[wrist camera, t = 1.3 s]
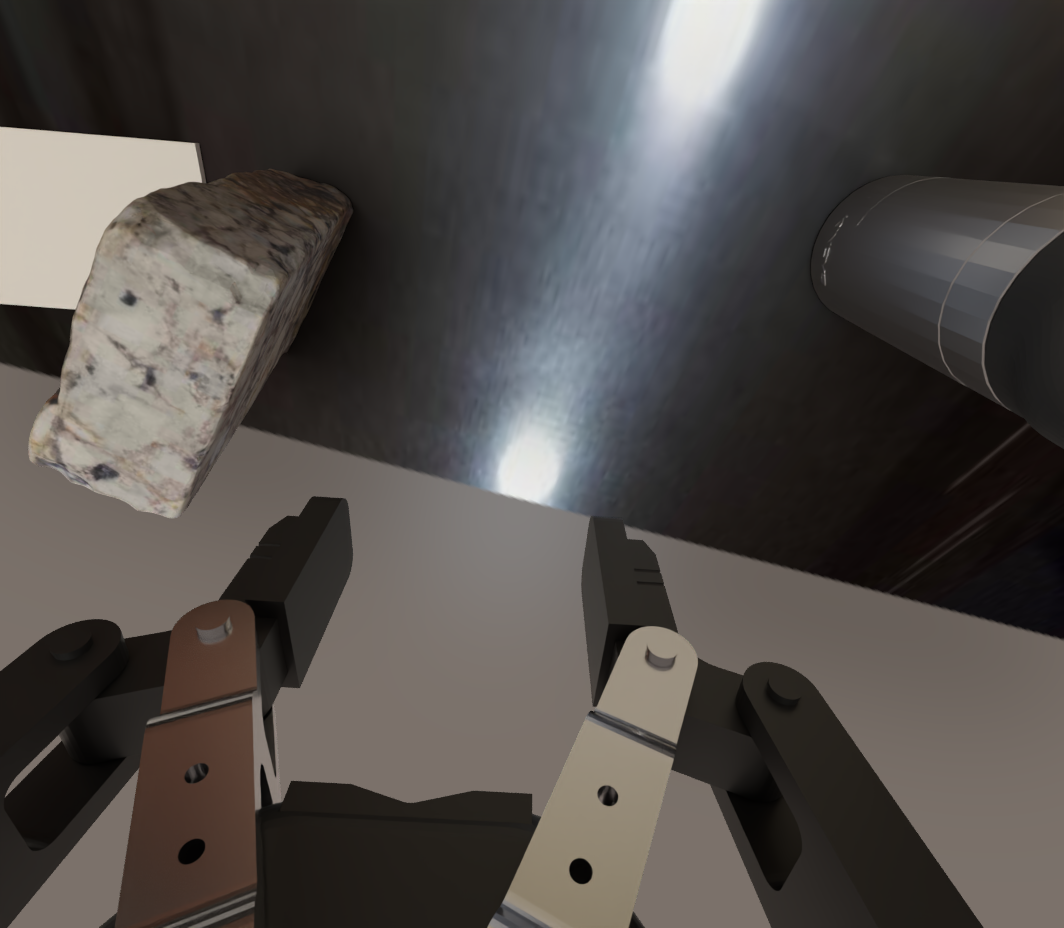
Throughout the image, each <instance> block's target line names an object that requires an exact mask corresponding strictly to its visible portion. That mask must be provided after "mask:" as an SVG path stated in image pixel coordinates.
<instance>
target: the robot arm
mask: <svg viewBox="0 0 1064 928" xmlns="http://www.w3.org/2000/svg"><path fill="white" fill-rule="evenodd" d="M811 278H812V282H813V286H814V289H815V291H816V293H817V295H818V297H819V299H820V300H821V301H822V303H823V304H824V305H825V306H826V307H827V308H828V309H829V310H831V311H833V312H834V313H836V314H838V315H839V316H841V317H843V318H844V319H846V320H848V321H850V322H852V323H853V324H855V325H857V326H859V327H860V328H862V329H864V330H865V331H867V332H869V333H871V334H873V335H874V336H876V337H878V338H880V339H882V340H883V341H885V342H887V343H889V344H891V345H892V346H894V347H896V348H898V349H900V350H901V351H903V352H905V353H907V354H909V355H910V356H912V357H914V358H916V359H918V360H919V361H921V362H923V363H925V364H927V365H928V366H930V367H932V368H934V369H936V370H937V371H939V372H941V373H943V374H945V375H946V376H948V377H950V378H952V379H954V380H955V381H957V382H959V383H961V384H963V385H965V386H967V387H969V388H971V389H972V390H974V391H976V392H978V393H980V394H981V395H983V396H985V397H987V398H989V399H990V400H992V401H994V402H996V403H998V404H999V405H1001V406H1003V407H1005V408H1007V409H1008V410H1011V411H1012V412H1014V413H1016V414H1017V415H1019V416H1021V417H1023V418H1024V419H1025V420H1026V421H1027V422H1028V423H1029V424H1030V425H1031V426H1032V427H1033V428H1034V429H1035V430H1036V431H1037V432H1039V433H1040V434H1041V435H1043V436H1044V437H1046V438H1047V439H1048V440H1050V441H1052V442H1053V443H1055V444H1057V445H1058V446H1060V447H1061V448H1063V449H1064V186H1051V185H1038V184H1024V183H1010V182H997V181H983V180H969V179H955V178H945V177H930V176H915V175H895V176H888V177H884V178H881V179H878V180H875V181H872V182H870V183H868V184H866V185H865V186H863V187H861V188H859V189H858V190H856V191H854V192H853V193H852V194H851V195H849V196H848V197H847V198H846V199H845V200H843V201H842V202H841V203H840V204H839V205H838V206H837V208H836V209H835V210H834V211H833V212H832V213H831V215H830V216H829V217H828V219H827V220H826V222H825V224H824V225H823V227H822V229H821V230H820V232H819V235H818V237H817V240H816V242H815V245H814V248H813V254H812V259H811ZM352 560H353V548H352V539H351V528H350V518H349V508H348V503H347V500H346V499H344V498H330V497H329V498H328V497H315V496H314V497H312V498H311V499H310V500H309V502H308V503H307V505H306V506H305V508H304V509H303V511H302V512H301V514H300V515H299V517H298V516H286V517H285V518H284V519H282V520H281V521H279V522H278V523H276V524H275V525H273V526H272V527H271V528H269V529H268V531H267V532H266V534H265V535H264V536H263V538H262V539H261V541H260V542H259V546H256V548H255V549H254V551H253V552H252V553H251V555H250V559H247V561H246V562H245V563H244V565H243V566H242V568H241V569H240V570H239V572H238V573H237V575H236V576H235V577H234V579H233V580H232V582H231V583H230V584H229V586H228V587H227V589H226V590H225V592H224V593H223V594H222V596H221V597H220V599H219V600H218V601H213V602H209V603H206V604H203V605H200V606H198V607H196V608H194V609H192V610H191V611H189V612H187V613H186V614H185V615H183V616H182V617H181V618H180V619H179V620H178V621H177V623H176V624H175V625H174V627H173V629H172V630H171V631H166V632H161V633H155V634H149V635H143V636H138V637H132V638H126V639H124V638H123V635H122V632H121V630H120V628H119V627H118V626H117V625H116V624H115V623H113V622H111V621H108V620H102V619H92V620H85V621H80V622H75V623H72V624H69V625H66V626H64V627H61V628H59V629H57V630H55V631H53V632H51V633H50V634H48V635H46V636H45V637H43V638H42V639H40V640H39V641H38V642H36V643H35V644H34V645H33V646H31V647H30V648H29V649H28V650H27V651H25V652H24V653H23V654H21V655H20V656H19V657H18V658H17V659H15V660H14V661H13V662H12V663H10V664H9V665H8V666H6V667H5V668H4V669H3V670H2V671H0V928H7V927H8V926H9V925H10V924H11V923H12V921H13V920H14V919H15V918H16V916H17V915H18V914H19V913H20V912H21V910H22V909H23V908H24V907H25V906H26V904H27V903H28V902H29V901H30V899H31V898H32V897H33V896H34V895H35V893H36V892H37V891H38V890H39V889H40V887H41V886H42V885H43V884H44V883H45V881H46V880H47V879H48V878H49V876H50V875H51V874H52V873H53V872H54V870H55V869H56V868H57V867H58V866H59V864H60V863H61V862H62V860H63V859H64V858H65V857H66V856H67V855H68V853H69V852H70V851H71V850H72V849H73V847H74V846H75V845H76V844H77V842H78V841H79V840H80V839H81V838H82V836H83V835H84V834H85V833H86V832H87V830H88V829H89V828H90V827H91V825H92V824H93V823H94V822H95V821H96V819H97V818H98V817H99V816H100V815H101V813H102V812H103V811H104V810H105V809H106V807H107V806H108V805H109V804H110V802H111V801H112V800H113V799H114V798H115V796H116V795H117V794H118V793H119V791H120V790H121V789H122V788H123V787H124V785H125V784H126V783H127V782H128V781H129V779H130V778H131V777H132V776H133V775H134V773H135V772H136V771H137V770H138V768H139V772H138V779H137V785H136V792H135V798H134V805H133V811H132V818H131V825H130V831H129V838H128V844H127V851H126V857H125V864H124V870H123V877H122V884H121V890H120V897H119V903H118V910H117V913H116V914H115V915H114V916H112V917H111V918H110V919H109V920H107V922H105V923H104V924H103V925H101V926H100V927H99V928H645V927H644V926H643V924H642V923H641V921H640V920H639V919H638V917H637V916H636V915H635V913H634V912H633V909H634V906H635V902H636V898H637V894H638V891H639V887H640V883H641V879H642V876H643V872H644V868H645V864H646V861H647V857H648V853H649V849H650V845H651V841H652V838H653V834H654V831H655V827H656V823H657V819H658V816H659V812H660V808H661V805H662V801H663V797H664V793H665V790H666V786H667V782H668V779H669V775H670V771H671V770H674V771H676V772H679V773H682V774H684V775H687V776H690V777H692V778H695V779H698V780H700V781H703V782H705V783H708V784H710V785H711V788H712V790H713V792H714V795H715V797H716V799H717V802H718V804H719V806H720V809H721V811H722V813H723V816H724V818H725V820H726V823H727V825H728V827H729V830H730V832H731V834H732V837H733V839H734V841H735V844H736V846H737V848H738V851H739V853H740V855H741V858H742V860H743V862H744V865H745V867H746V869H747V871H748V874H749V876H750V879H751V881H752V883H753V885H754V888H755V890H756V893H757V895H758V897H759V900H760V902H761V904H762V906H763V909H764V911H765V914H766V916H767V918H768V921H769V923H770V925H771V928H983V926H982V925H981V923H980V922H979V921H978V919H977V918H976V916H975V915H974V913H973V912H972V911H971V909H970V908H969V906H968V905H967V903H966V902H965V901H964V899H963V898H962V896H961V895H960V893H959V892H958V891H957V889H956V888H955V886H954V885H953V883H952V882H951V881H950V879H949V878H948V876H947V875H946V873H945V872H944V870H943V869H942V868H941V866H940V865H939V863H938V862H937V861H936V859H935V858H934V856H933V855H932V853H931V852H930V850H929V849H928V848H927V846H926V845H925V843H924V842H923V840H922V839H921V837H920V836H919V835H918V833H917V832H916V830H915V829H914V827H913V826H912V825H911V823H910V822H909V820H908V819H907V817H906V816H905V815H904V813H903V812H902V811H901V809H900V808H899V806H898V805H897V803H896V802H895V800H894V799H893V797H892V796H891V794H890V793H889V792H888V790H887V789H886V787H885V786H884V784H883V783H882V782H881V781H880V779H879V777H878V776H877V774H876V773H875V772H874V770H873V769H872V767H871V766H870V764H869V763H868V762H867V760H866V759H865V757H864V756H863V754H862V753H861V752H860V750H859V749H858V747H857V746H856V744H855V743H854V741H853V740H852V739H851V737H850V736H849V735H848V733H847V731H846V730H845V729H844V727H843V726H842V724H841V723H840V721H839V720H838V719H837V717H836V716H835V714H834V713H833V711H832V710H831V709H830V707H829V706H828V704H827V703H826V701H825V700H824V699H823V697H822V696H821V694H820V693H819V691H818V690H817V689H816V687H815V686H814V685H813V684H812V683H811V682H810V681H809V680H808V679H807V678H806V677H804V676H803V675H802V674H800V673H799V672H797V671H796V670H794V669H792V668H790V667H787V666H784V665H782V664H778V663H772V662H761V663H757V664H753V665H752V666H750V667H749V668H748V669H747V670H746V671H745V673H744V675H740V674H737V673H734V672H731V671H727V670H725V669H721V668H718V667H716V666H713V665H710V664H708V663H706V662H704V661H703V660H701V659H699V658H698V657H697V654H696V652H695V650H694V648H693V647H692V645H691V644H690V643H689V642H688V641H687V640H686V639H685V638H684V637H682V636H681V635H679V634H678V631H677V627H676V624H675V620H674V617H673V613H672V610H671V607H670V604H669V600H668V596H667V593H666V589H665V586H664V582H663V579H662V575H661V573H660V568H659V565H658V561H657V558H656V555H655V553H654V552H653V551H652V550H651V549H650V548H649V547H648V546H647V544H646V543H645V542H644V541H643V540H630V539H627V537H626V532H625V527H624V523H623V520H622V518H614V517H599V516H591V518H590V521H589V528H588V534H587V542H586V548H585V555H584V561H583V567H582V583H581V586H582V601H583V611H584V621H585V631H586V641H587V652H588V662H589V673H590V683H591V692H592V703H593V706H594V707H596V709H595V711H594V712H593V711H590V712H589V714H588V715H587V717H586V719H585V721H584V723H583V725H582V728H581V730H580V732H579V734H578V737H577V739H576V741H575V743H574V745H573V748H572V750H571V752H570V754H569V757H568V759H567V761H566V763H565V765H564V768H563V770H562V772H561V775H560V777H559V779H558V781H557V783H556V785H555V788H554V790H553V792H552V795H551V797H550V799H549V801H548V803H547V806H546V808H545V810H544V812H543V815H542V817H540V816H537V815H534V814H532V794H523V793H505V792H486V791H471V792H466V793H460V794H455V795H451V796H446V797H441V798H436V799H431V800H426V801H421V802H417V803H406V802H402V801H399V800H396V799H393V798H390V797H387V796H384V795H381V794H378V793H375V792H372V791H370V790H367V789H363V788H361V787H358V786H355V785H352V784H337V783H321V782H302V781H291V783H290V785H289V788H288V791H287V793H286V795H285V798H284V801H283V802H282V800H281V790H280V778H279V761H278V746H277V730H276V714H275V708H274V700H275V698H276V696H277V694H278V692H279V690H280V688H281V687H291V688H300V686H301V684H302V682H303V680H304V677H305V675H306V673H307V671H308V668H309V666H310V664H311V661H312V659H313V657H314V655H315V652H316V650H317V648H318V646H319V643H320V641H321V639H322V637H323V634H324V632H325V630H326V628H327V625H328V623H329V621H330V619H331V616H332V614H333V612H334V609H335V607H336V605H337V603H338V600H339V598H340V596H341V594H342V591H343V589H344V587H345V585H346V582H347V580H348V578H349V575H350V572H351V567H352ZM58 735H59V736H60V738H61V740H62V741H61V742H60V743H59V744H58V745H57V746H56V747H55V748H54V749H53V750H52V751H51V752H50V753H49V754H48V755H47V756H46V757H45V758H44V759H43V760H42V761H41V762H40V763H39V764H38V765H37V766H36V767H35V768H34V769H33V770H32V771H31V772H30V773H29V774H28V775H27V776H26V777H25V778H24V779H23V780H22V781H21V782H20V783H19V784H18V785H17V786H16V787H15V788H14V789H13V790H12V791H11V792H10V793H9V794H8V795H7V796H6V797H5V795H6V792H7V790H8V788H9V786H10V785H11V783H12V781H13V780H14V779H15V778H16V776H17V775H18V774H19V773H20V772H21V771H22V770H23V769H24V768H25V767H26V766H27V765H28V764H29V763H30V762H31V761H32V760H33V759H34V758H35V757H36V756H37V755H38V754H39V753H40V752H41V751H42V750H43V749H44V748H45V747H47V746H48V745H49V744H50V742H52V741H53V740H54V739H55V738H56V737H57V736H58Z"/></svg>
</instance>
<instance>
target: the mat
mask: <svg viewBox="0 0 1064 928" xmlns="http://www.w3.org/2000/svg"><path fill="white" fill-rule="evenodd" d="M187 182H200V183H206V179H205V173H204V168H203V162H202V157H201V151H200V146H199V143H188V142H176V141H164V140H152V139H140V138H129V137H117V136H105V135H93V134H81V133H69V132H57V131H46V130H34V129H22V128H10V127H0V304H11V305H24V306H37V307H50V308H64V309H76V307H77V304H78V301H79V299H80V296H81V293H82V289H83V286H84V284H85V282H86V280H87V278H88V276H89V275H90V271H91V268H92V264H93V260H94V257H95V252H96V248H97V246H98V244H99V242H100V240H101V237H102V235H103V233H104V230H105V229H106V228H107V227H108V225H109V224H110V223H111V222H112V220H113V219H114V218H116V217H117V216H118V215H119V214H120V213H121V212H122V210H123V209H124V208H125V207H126V206H127V205H129V204H130V203H131V202H132V201H133V200H135V199H137V198H140V197H144V196H146V195H147V194H149V193H151V192H154V191H156V190H158V189H160V188H170V187H174V186H177V185H180V184H184V183H187Z"/></svg>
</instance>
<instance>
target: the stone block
mask: <svg viewBox="0 0 1064 928" xmlns="http://www.w3.org/2000/svg"><path fill="white" fill-rule="evenodd" d="M352 213H353V208H352V205H351V201H350V200H349V198H348V197H347V196H346V195H345V194H343V193H342V192H340V191H339V190H338V189H336V188H335V187H333V186H331V185H328V184H326V183H324V184H321V183H318V182H315V181H312V180H308V179H304V178H300V177H297V176H295V175H292V174H290V173H288V172H283V171H276V170H273V169H268V170H264V171H261V170H257V171H254V172H253V173H248V172H244V173H241V172H239V173H232V174H230V175H228V176H227V177H226V178H223V179H218V180H215V181H212V182H210V183H200V182H187V183H184V184H180V185H177V186H174V187H170V188H160V189H158V190H156V191H154V192H151V193H149V194H147V195H146V196H144V197H140V198H137V199H135V200H133V201H132V202H131V203H130V204H129V205H127V206H126V207H125V208H124V209H123V210H122V212H121V213H120V214H119V215H118V216H117V217H116V218H114V219H113V220H112V222H111V223H110V224H109V225H108V227H107V228H106V229H105V230H104V233H103V235H102V237H101V240H100V242H99V244H98V246H97V248H96V252H95V257H94V260H93V264H92V268H91V271H90V275H89V276H88V278H87V280H86V282H85V284H84V286H83V289H82V293H81V296H80V299H79V301H78V304H77V307H76V310H75V313H74V316H73V319H72V325H71V332H70V345H69V348H68V351H67V353H66V356H65V360H64V363H63V367H62V373H61V379H60V388H59V389H58V390H57V392H56V393H55V394H54V395H53V396H52V397H51V398H50V399H48V400H47V401H46V403H45V404H44V406H43V407H42V409H41V410H40V412H39V413H38V415H37V417H36V419H35V422H34V425H33V427H32V430H31V434H30V438H29V451H28V453H29V457H30V461H31V462H33V463H34V464H35V465H37V466H44V467H50V468H53V469H56V470H58V471H59V472H61V473H62V474H63V475H64V476H65V477H66V478H67V479H68V480H69V481H70V482H71V483H75V484H79V485H83V486H85V487H87V488H89V489H91V490H92V491H94V492H96V493H99V494H103V495H107V496H110V497H115V498H118V499H120V500H122V501H124V502H126V503H128V504H130V505H131V506H132V507H133V508H134V509H136V510H138V511H144V512H151V513H156V514H159V515H162V516H165V517H168V518H176V517H179V516H180V515H181V514H182V513H183V512H184V511H185V510H186V508H187V507H188V506H189V504H190V503H191V501H192V499H193V498H194V496H195V495H196V493H197V492H198V490H199V489H200V487H201V485H202V484H203V482H204V481H205V479H206V477H207V476H208V474H209V472H210V471H211V469H212V467H213V465H214V464H215V463H216V461H217V460H218V458H219V457H220V455H221V454H222V452H223V451H224V449H225V448H226V446H227V444H228V443H229V441H230V439H231V438H232V436H233V434H234V433H235V431H236V429H237V428H238V426H239V425H240V423H241V422H242V420H243V419H244V417H245V415H246V414H247V412H248V410H249V409H250V407H251V406H252V404H253V402H254V401H255V399H256V398H257V396H258V394H259V392H260V391H261V389H262V388H263V386H264V384H265V382H266V380H267V379H268V377H269V375H270V374H271V372H272V370H273V369H274V367H275V366H276V364H277V362H278V360H279V358H280V357H281V355H282V354H283V353H286V352H287V351H288V350H289V348H290V346H291V344H292V342H293V340H294V339H295V337H296V335H297V333H298V330H299V327H300V326H301V324H302V322H303V320H304V318H305V316H306V315H307V313H308V311H309V309H310V306H311V304H312V302H313V300H314V298H315V296H316V293H317V290H318V287H319V284H320V282H321V280H322V278H323V276H324V274H325V271H326V269H327V267H328V265H329V263H330V261H331V259H332V256H333V254H334V252H335V250H336V248H337V246H338V244H339V242H340V240H341V238H342V235H343V233H344V231H345V228H346V226H347V224H348V222H349V220H350V218H351V215H352Z"/></svg>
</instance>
